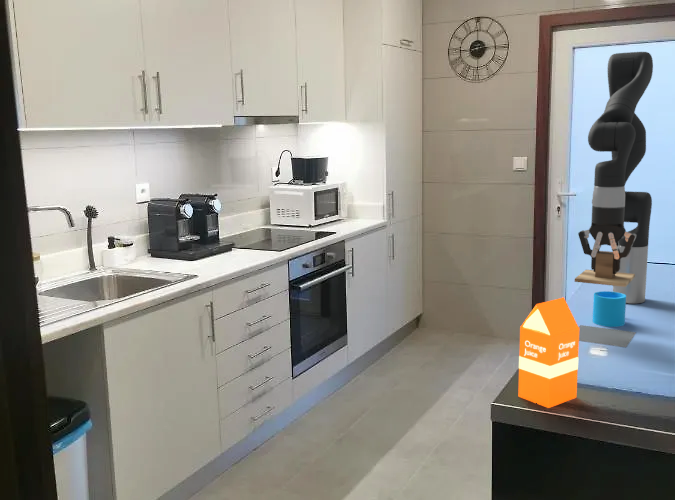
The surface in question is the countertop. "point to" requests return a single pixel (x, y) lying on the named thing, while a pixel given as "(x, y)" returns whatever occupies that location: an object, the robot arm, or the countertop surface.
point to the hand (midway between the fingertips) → (605, 272)
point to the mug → (609, 308)
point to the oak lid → (605, 272)
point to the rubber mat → (605, 336)
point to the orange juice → (549, 354)
